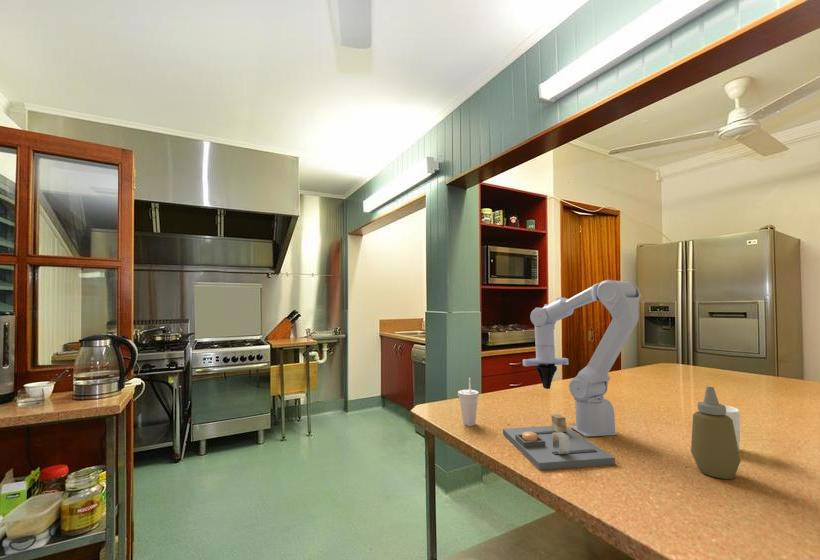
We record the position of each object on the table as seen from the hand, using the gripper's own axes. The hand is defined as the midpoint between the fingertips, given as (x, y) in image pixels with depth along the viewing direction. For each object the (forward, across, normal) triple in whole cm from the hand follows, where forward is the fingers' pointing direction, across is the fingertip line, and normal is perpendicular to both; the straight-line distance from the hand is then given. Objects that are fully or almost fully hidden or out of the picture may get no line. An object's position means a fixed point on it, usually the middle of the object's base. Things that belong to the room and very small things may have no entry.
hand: (546, 388), depth 115 cm
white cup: (+10, -30, +29) cm, 43 cm away
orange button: (+8, +16, +22) cm, 28 cm away
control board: (+9, +10, +22) cm, 26 cm away
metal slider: (+7, +12, +29) cm, 32 cm away
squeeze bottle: (+10, -17, +40) cm, 45 cm away
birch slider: (+7, +5, +16) cm, 18 cm away
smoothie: (+10, +26, +1) cm, 28 cm away
